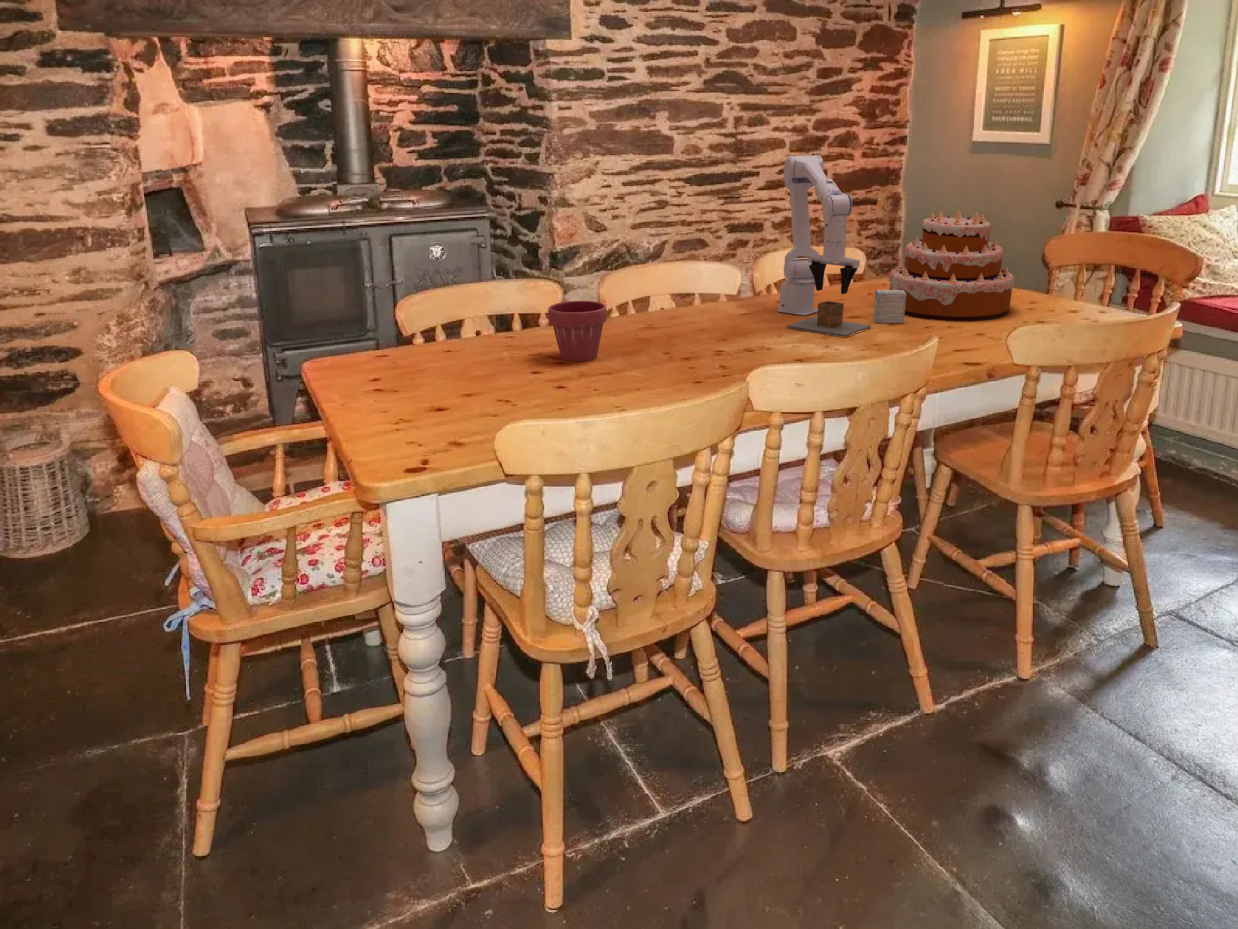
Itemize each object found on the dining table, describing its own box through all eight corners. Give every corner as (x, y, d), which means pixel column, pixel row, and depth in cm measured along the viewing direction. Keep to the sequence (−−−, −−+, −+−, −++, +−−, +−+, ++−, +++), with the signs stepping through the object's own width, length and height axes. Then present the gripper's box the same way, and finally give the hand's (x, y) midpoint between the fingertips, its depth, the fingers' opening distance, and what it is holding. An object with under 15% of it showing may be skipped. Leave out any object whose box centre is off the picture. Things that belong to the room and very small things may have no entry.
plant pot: (540, 361, 246) (538, 309, 242) (563, 348, 259) (562, 298, 254) (594, 366, 242) (593, 313, 237) (615, 352, 254) (614, 302, 249)
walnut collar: (816, 325, 275) (818, 303, 273) (826, 322, 278) (827, 300, 276) (833, 328, 272) (834, 306, 270) (842, 324, 275) (843, 303, 273)
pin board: (787, 328, 276) (787, 313, 274) (813, 319, 286) (814, 305, 284) (845, 337, 265) (846, 322, 263) (871, 328, 275) (872, 313, 273)
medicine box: (901, 320, 283) (904, 289, 280) (903, 323, 279) (906, 292, 276) (872, 320, 284) (875, 289, 281) (875, 323, 280) (877, 292, 277)
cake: (987, 296, 313) (998, 205, 303) (1029, 321, 280) (1042, 219, 270) (874, 297, 313) (881, 206, 304) (903, 322, 281) (912, 221, 271)
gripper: (803, 240, 269) (800, 290, 274) (851, 245, 260) (848, 297, 265) (817, 237, 274) (814, 286, 279) (865, 241, 265) (861, 293, 270)
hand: (831, 291), depth 273 cm, fingers open, 7 cm apart
